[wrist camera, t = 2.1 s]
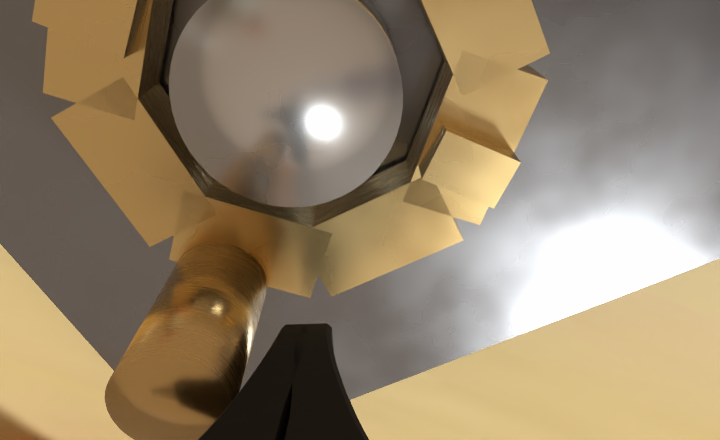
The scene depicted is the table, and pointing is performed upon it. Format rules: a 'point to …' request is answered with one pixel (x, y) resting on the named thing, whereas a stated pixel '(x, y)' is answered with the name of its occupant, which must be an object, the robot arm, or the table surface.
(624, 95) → the housing
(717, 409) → the table surface
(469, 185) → the ring nut
